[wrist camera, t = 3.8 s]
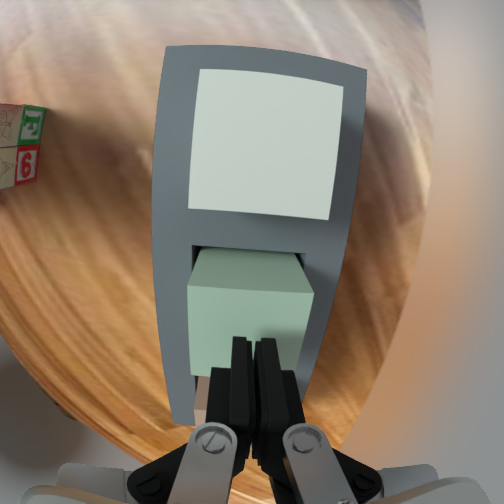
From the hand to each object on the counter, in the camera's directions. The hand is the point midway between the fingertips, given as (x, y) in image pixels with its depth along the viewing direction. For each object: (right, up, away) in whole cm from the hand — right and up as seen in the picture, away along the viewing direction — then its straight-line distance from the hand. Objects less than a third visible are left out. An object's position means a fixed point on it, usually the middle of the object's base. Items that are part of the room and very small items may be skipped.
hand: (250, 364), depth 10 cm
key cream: (0, +10, +3) cm, 10 cm away
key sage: (0, +2, +6) cm, 6 cm away
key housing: (0, +4, +9) cm, 10 cm away
